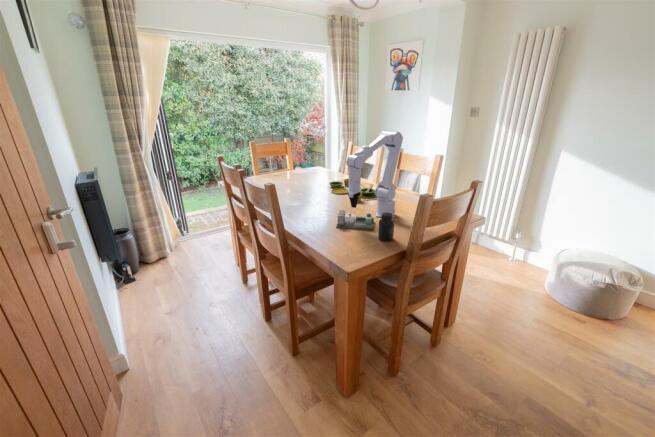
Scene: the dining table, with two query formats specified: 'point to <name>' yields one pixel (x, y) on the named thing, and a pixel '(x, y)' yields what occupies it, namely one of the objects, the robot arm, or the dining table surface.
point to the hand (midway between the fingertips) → (353, 207)
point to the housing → (349, 219)
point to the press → (358, 222)
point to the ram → (368, 218)
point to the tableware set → (364, 192)
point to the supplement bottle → (386, 227)
